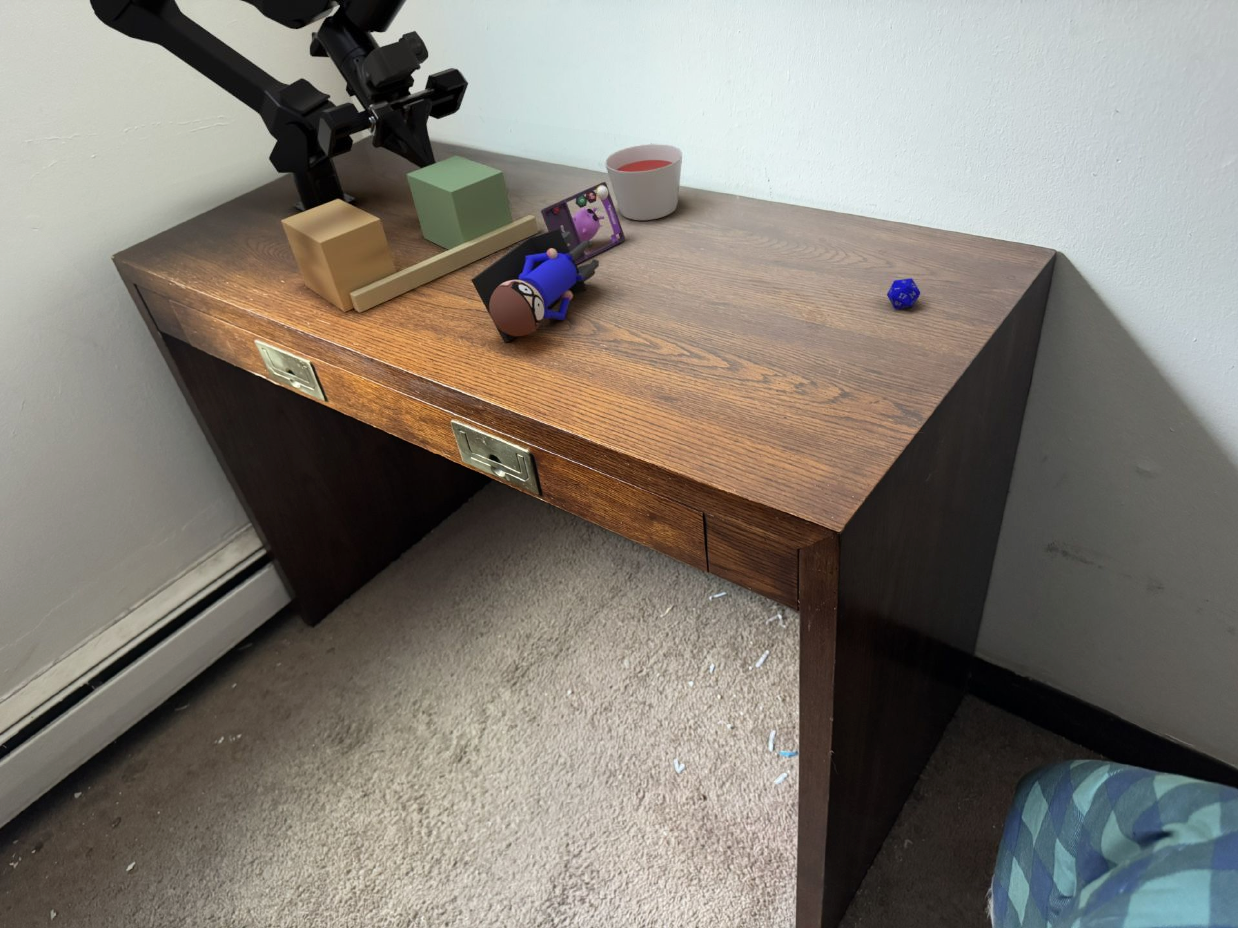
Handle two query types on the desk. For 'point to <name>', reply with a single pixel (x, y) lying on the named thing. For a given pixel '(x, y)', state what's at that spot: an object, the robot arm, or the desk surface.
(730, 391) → the desk surface
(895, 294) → the die
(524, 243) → the character figurine
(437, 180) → the green block
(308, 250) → the maple block
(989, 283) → the desk surface
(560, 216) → the game card
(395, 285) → the straightedge
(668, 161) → the candle
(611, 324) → the desk surface
